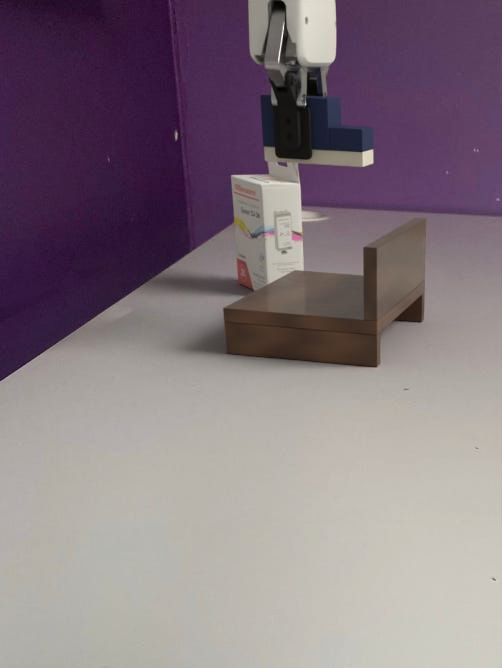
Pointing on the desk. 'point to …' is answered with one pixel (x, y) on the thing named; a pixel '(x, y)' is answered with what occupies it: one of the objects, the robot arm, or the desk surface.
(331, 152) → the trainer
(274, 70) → the robot arm
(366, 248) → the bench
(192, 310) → the desk surface
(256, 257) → the ink cartridge box
